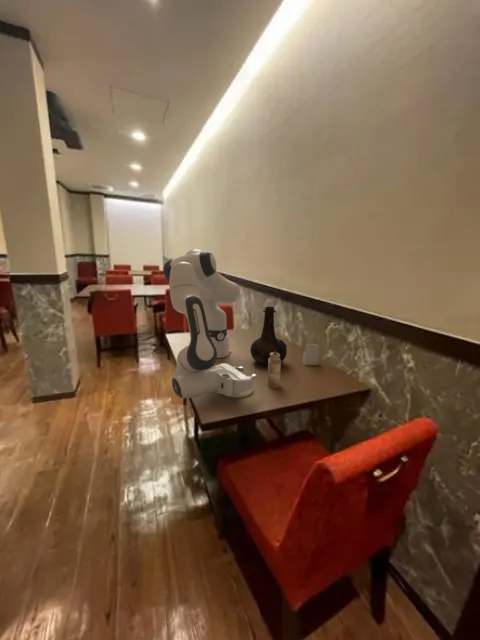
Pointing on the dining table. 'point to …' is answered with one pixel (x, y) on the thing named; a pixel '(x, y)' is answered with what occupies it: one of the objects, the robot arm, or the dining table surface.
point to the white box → (311, 354)
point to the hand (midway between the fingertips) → (249, 372)
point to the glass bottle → (268, 341)
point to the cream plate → (241, 394)
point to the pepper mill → (274, 370)
